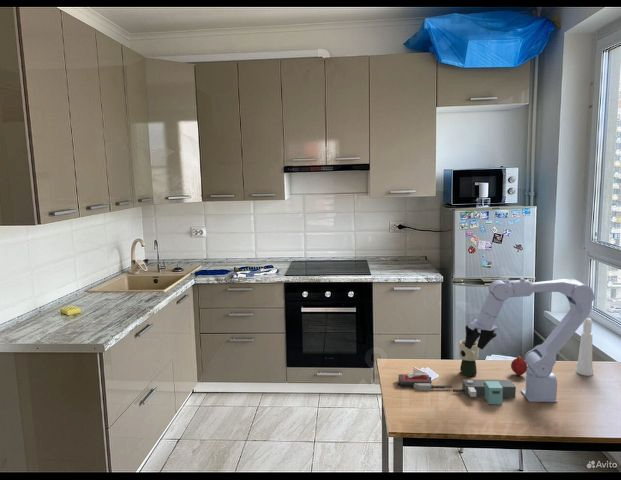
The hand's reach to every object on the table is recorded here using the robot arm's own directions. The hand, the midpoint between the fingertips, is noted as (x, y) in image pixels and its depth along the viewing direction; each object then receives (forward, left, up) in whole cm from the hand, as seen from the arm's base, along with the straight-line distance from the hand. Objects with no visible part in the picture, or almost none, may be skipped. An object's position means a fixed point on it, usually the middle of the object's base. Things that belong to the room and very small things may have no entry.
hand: (473, 347), depth 164 cm
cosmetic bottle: (-48, -19, -18) cm, 55 cm away
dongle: (+1, +3, -16) cm, 16 cm away
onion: (-22, -16, -18) cm, 33 cm away
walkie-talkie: (+16, -7, -18) cm, 25 cm away
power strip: (-4, -1, -18) cm, 18 cm away
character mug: (-3, -17, -18) cm, 25 cm away
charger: (-6, +5, -18) cm, 19 cm away
